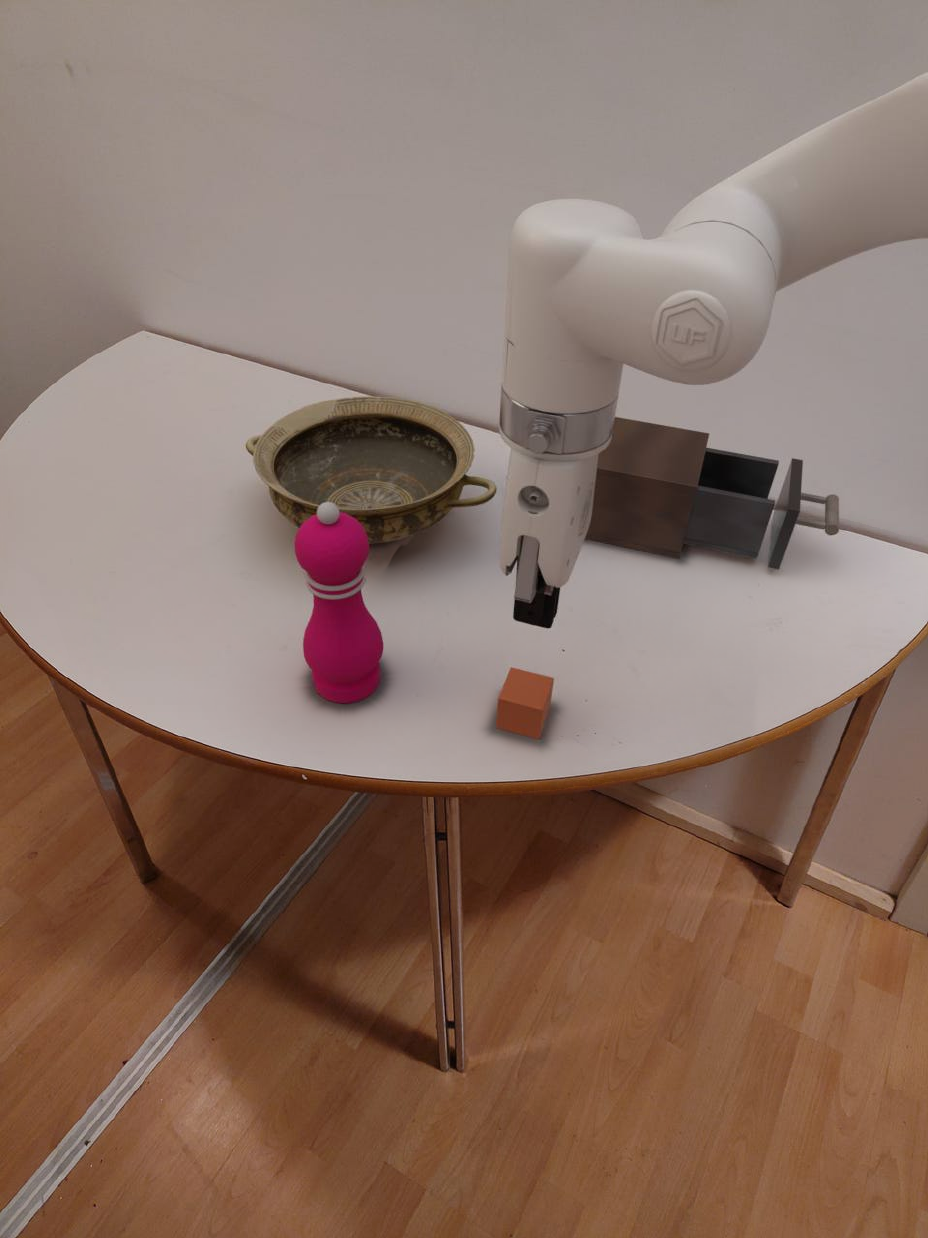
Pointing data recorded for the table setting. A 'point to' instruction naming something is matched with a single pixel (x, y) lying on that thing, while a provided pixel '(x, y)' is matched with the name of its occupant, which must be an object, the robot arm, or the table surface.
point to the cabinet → (646, 486)
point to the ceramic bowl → (369, 464)
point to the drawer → (750, 506)
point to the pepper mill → (338, 606)
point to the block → (524, 703)
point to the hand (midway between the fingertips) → (534, 617)
